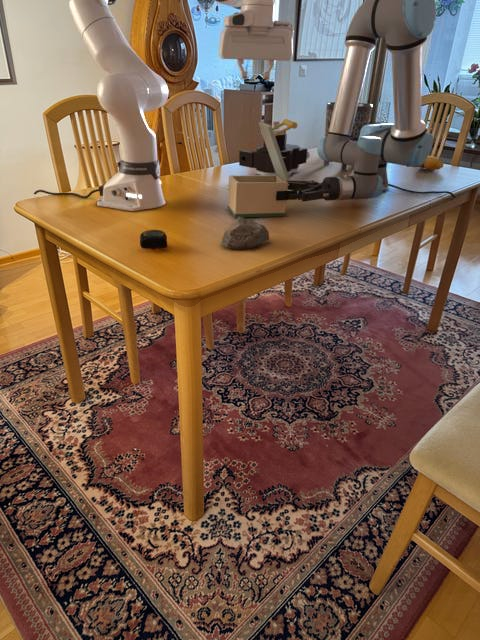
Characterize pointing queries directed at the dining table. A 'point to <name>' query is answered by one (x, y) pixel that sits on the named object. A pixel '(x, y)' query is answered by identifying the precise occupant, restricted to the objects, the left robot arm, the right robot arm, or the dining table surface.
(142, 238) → the tape measure
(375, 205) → the dining table surface
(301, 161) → the mechanical component
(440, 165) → the toy
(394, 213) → the dining table surface
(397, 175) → the dining table surface
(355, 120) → the planter
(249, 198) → the chest
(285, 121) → the lid
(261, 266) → the dining table surface
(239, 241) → the rock
